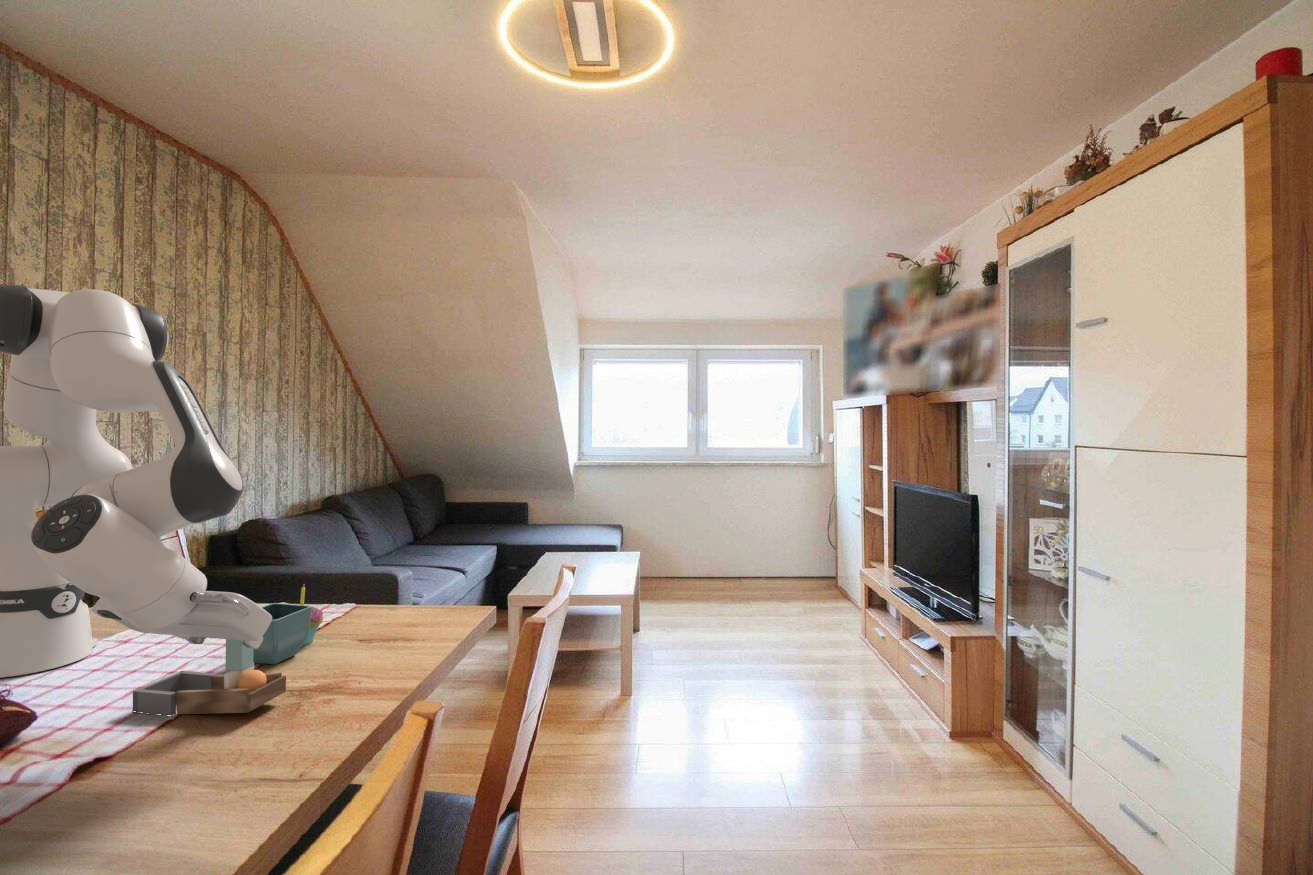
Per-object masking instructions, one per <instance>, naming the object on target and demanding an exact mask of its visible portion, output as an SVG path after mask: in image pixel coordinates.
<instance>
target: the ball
mask: <svg viewBox="0 0 1313 875" xmlns="http://www.w3.org/2000/svg"><path fill="white" fill-rule="evenodd" d="M264 673H265V672H263V671H261V670H259V669H254V670H251V671H248V672H246V673H245V674H243V675H242V676H241V678H240V679H239V681H238V685H237V686H238V689H242V688H250V689H251V692H252V691H254V690H256V689H258V688H260V687H262V686H264V685H266V681H267V678H266V675H265V674H264Z"/></svg>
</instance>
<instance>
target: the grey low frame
mask: <svg viewBox="0 0 1313 875" xmlns="http://www.w3.org/2000/svg"><path fill="white" fill-rule="evenodd" d="M213 675H219V674H218V673H215V672H214V673H213V672H203V671H202V672H200V671H191V670H190V671H189V670H181V671H178V672H176V673H173V674H171V675H169V676H166V677H164V678H161V679H159V680H157V681H154V682H152V683H149V684H147V685H145V686H144V685H143V686H142V687H139V688H138V689H135V690H133V691H132V712H133V711H136V712H143V713H149V714H148V715H151V714H161V715H173V714H175V715H176V714H177V707H176V695H175V692H178V691H180V690H210V689H212V687H211V676H213ZM161 715H160V716H161ZM173 716H174V715H173Z"/></svg>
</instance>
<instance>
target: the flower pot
mask: <svg viewBox="0 0 1313 875" xmlns="http://www.w3.org/2000/svg"><path fill="white" fill-rule="evenodd" d="M260 607H261V606H260ZM312 607H313V606H312V605H305V604H304V605H300V604H290V603H278V602H274V603H270V604H266V605H263V606H262V607H261V608H263V609H264V610H265V611H267V612H268V613H269V614H270V615H271V616H272V621H271V623H270V625H269V627H268V629H267V630H266V632H265V633H264V635H263V636H262V637H263V641H262V643H261V644H260V646H259V648H257V649H254V648H253V663H254V664H255V663H256V664H264V665H265V664H267V665H277V664H279V663H281V662H283V661H285V660H288V659H289V658H292V657H293V656H296V655H297V654H298V652H299V651H300V649H302V648H301V647H302V646H304V645H303V643H304V641H305V639H306V637H307V634H308V630H309V624H310V618H311V611H312Z"/></svg>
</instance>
